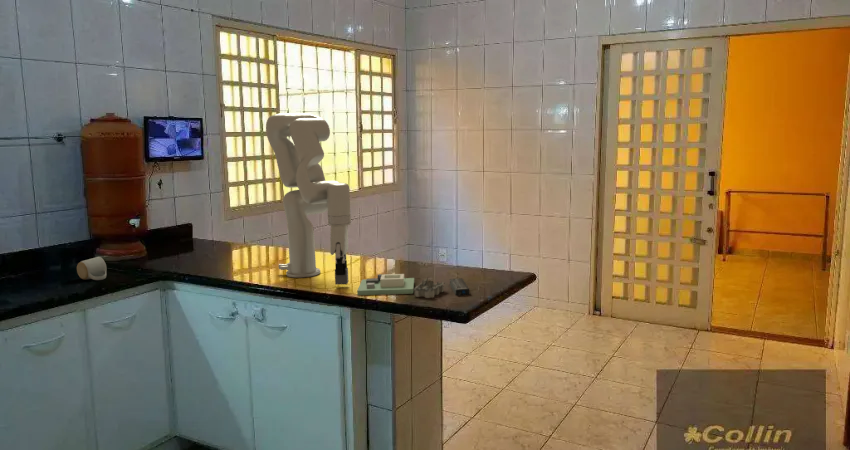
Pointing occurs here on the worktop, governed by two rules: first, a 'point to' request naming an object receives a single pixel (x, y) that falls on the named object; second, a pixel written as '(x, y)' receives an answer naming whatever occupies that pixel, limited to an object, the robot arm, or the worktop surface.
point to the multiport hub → (459, 287)
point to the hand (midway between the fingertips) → (341, 272)
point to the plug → (341, 277)
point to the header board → (386, 285)
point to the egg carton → (428, 288)
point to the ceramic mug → (92, 269)
